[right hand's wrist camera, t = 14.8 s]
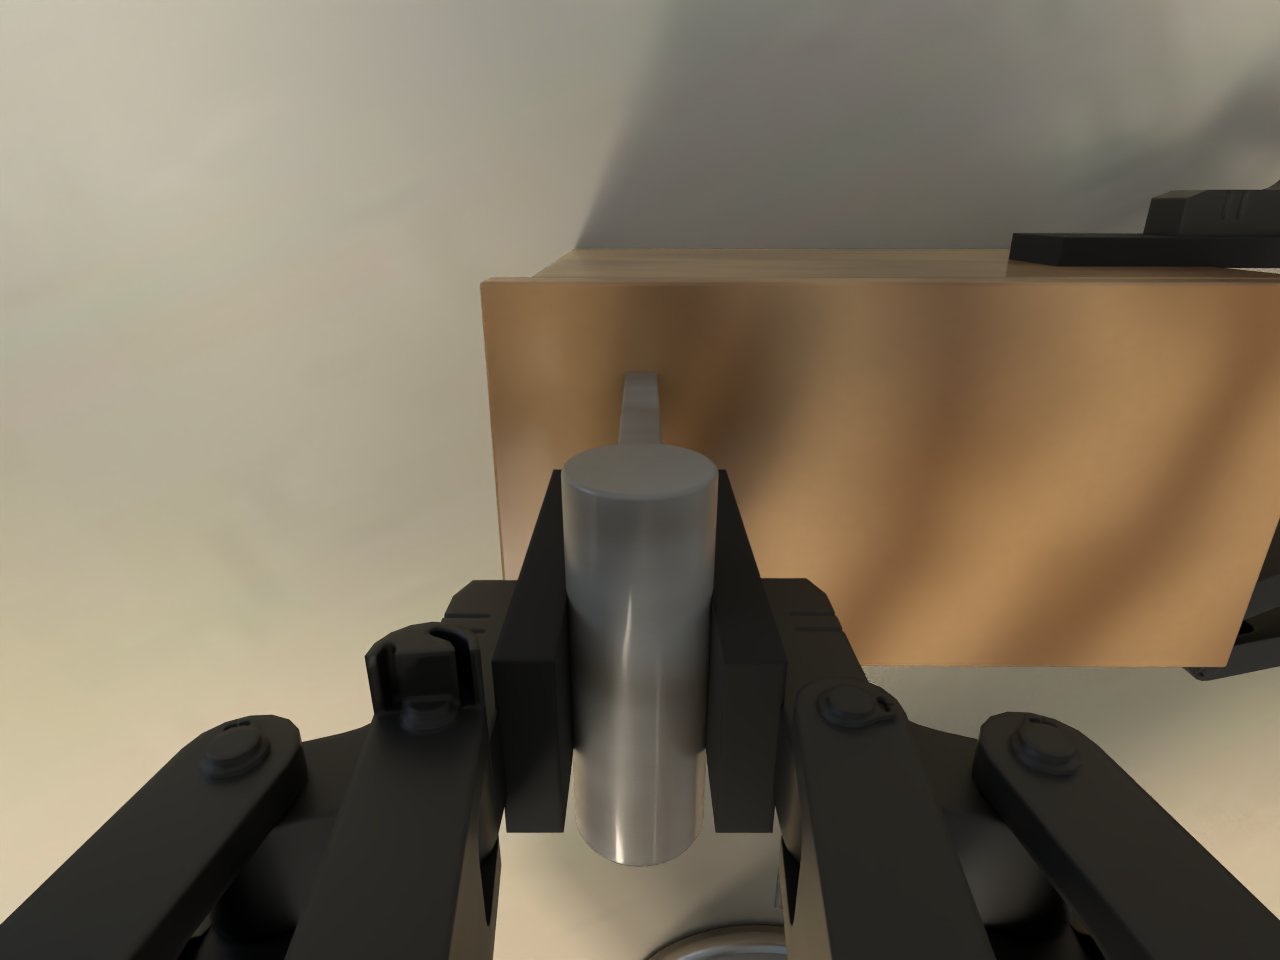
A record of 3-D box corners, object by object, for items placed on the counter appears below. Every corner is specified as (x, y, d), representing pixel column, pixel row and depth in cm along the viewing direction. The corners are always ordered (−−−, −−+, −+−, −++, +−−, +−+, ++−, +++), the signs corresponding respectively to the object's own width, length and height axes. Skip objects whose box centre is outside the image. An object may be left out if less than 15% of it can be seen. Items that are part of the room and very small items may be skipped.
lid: (516, 642, 19) (427, 947, 11) (488, 276, 16) (332, 350, 8) (1197, 645, 19) (1585, 953, 11) (1323, 278, 16) (2012, 352, 8)
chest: (581, 489, 30) (548, 642, 19) (573, 248, 26) (529, 277, 16) (1002, 490, 30) (1196, 643, 19) (1050, 248, 26) (1320, 277, 16)
